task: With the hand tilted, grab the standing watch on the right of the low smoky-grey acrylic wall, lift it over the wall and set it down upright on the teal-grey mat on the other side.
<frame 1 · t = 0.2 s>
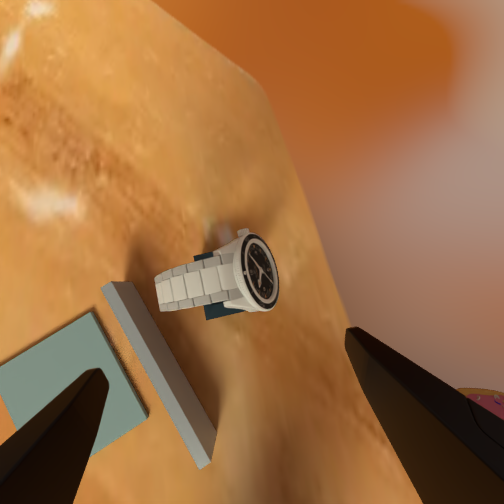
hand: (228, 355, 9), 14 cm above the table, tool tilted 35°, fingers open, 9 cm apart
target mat: (71, 393, 21), on the table
acrylic wall: (168, 357, 22), on the table
watch: (229, 281, 23), on the table
cupcake: (439, 415, 22), on the table
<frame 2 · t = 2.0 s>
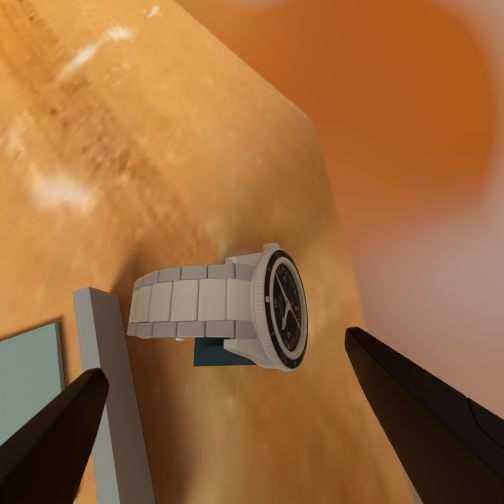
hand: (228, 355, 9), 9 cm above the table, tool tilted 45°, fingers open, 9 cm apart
acrylic wall: (130, 409, 16), on the table
watch: (234, 320, 18), on the table
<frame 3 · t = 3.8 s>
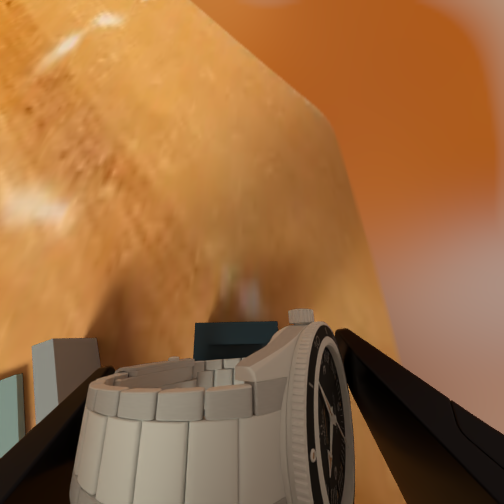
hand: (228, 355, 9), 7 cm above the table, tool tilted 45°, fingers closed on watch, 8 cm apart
acrylic wall: (108, 492, 12), on the table
watch: (241, 370, 15), on the table, touching gripper
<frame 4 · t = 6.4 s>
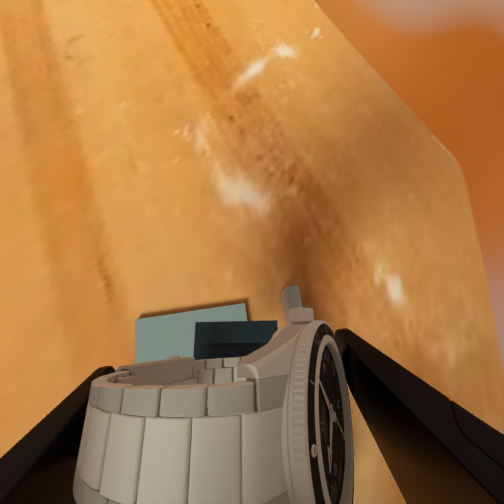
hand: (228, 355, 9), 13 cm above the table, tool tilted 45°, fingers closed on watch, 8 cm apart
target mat: (196, 376, 20), on the table
acrylic wall: (303, 385, 20), on the table
watch: (240, 369, 15), point 6 cm above the table, touching gripper
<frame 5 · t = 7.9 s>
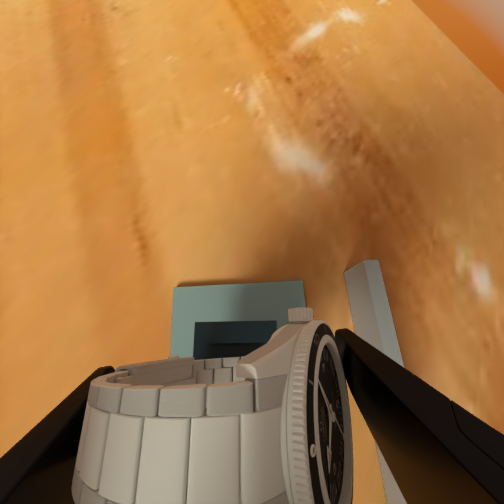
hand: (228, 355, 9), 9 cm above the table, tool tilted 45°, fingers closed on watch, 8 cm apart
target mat: (241, 360, 17), on the table
acrylic wall: (371, 383, 16), on the table
watch: (240, 369, 15), point 2 cm above the table, touching gripper
when the fingers open (8 cm above the table, at t = 9.2 s): watch moves 1 cm, resting on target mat.
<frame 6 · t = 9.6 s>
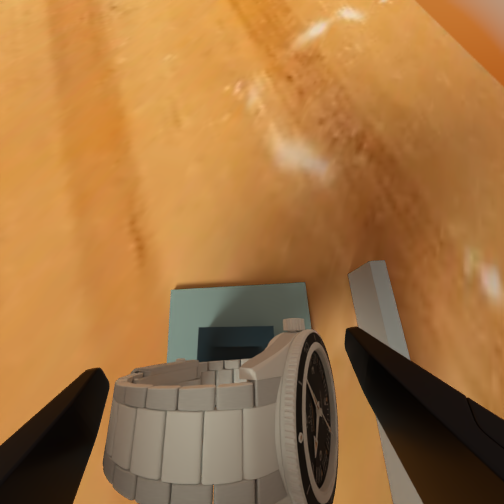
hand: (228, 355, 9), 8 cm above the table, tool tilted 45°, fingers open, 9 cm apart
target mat: (241, 366, 16), on the table
acrylic wall: (378, 391, 16), on the table
watch: (239, 370, 16), resting on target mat
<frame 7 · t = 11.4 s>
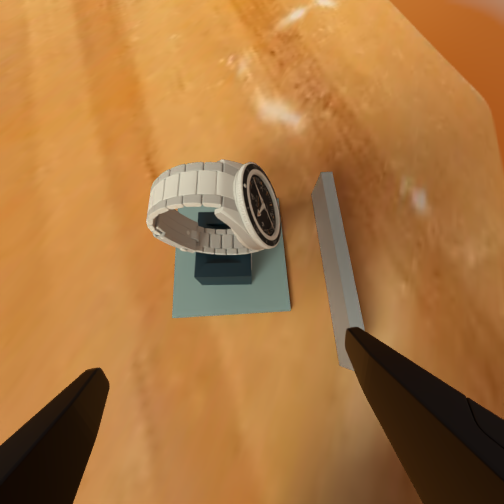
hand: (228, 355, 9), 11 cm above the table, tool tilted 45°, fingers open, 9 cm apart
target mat: (230, 253, 22), on the table
acrylic wall: (329, 269, 22), on the table
watch: (228, 255, 22), resting on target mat
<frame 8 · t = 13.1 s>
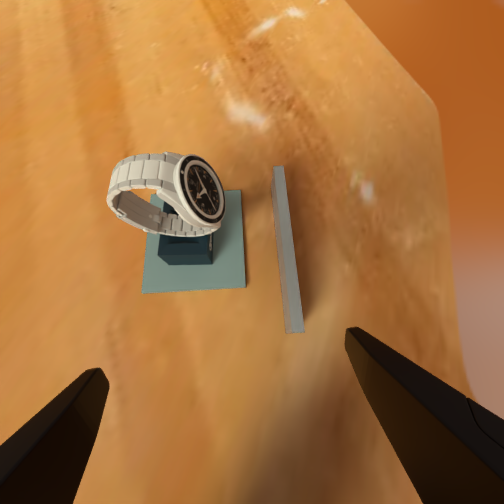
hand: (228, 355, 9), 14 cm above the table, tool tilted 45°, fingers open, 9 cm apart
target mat: (195, 238, 25), on the table
acrylic wall: (282, 251, 24), on the table
watch: (193, 239, 25), resting on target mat
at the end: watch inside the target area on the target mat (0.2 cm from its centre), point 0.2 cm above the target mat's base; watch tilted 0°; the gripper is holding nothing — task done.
